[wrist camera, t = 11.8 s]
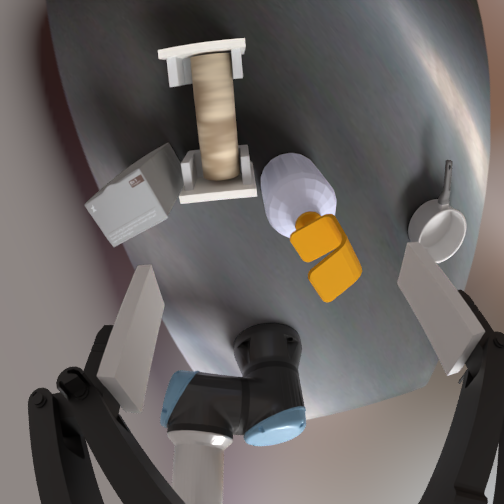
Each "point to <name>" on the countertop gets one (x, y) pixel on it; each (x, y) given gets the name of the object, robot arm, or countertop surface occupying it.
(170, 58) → the bracket
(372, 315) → the countertop surface
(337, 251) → the soap bottle
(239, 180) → the bracket
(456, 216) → the saucepan
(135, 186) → the skincare box
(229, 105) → the rail
